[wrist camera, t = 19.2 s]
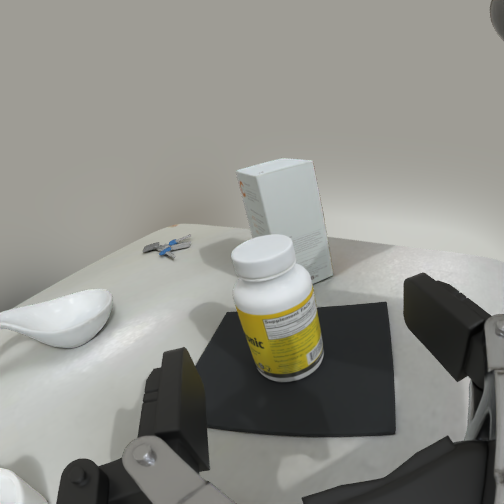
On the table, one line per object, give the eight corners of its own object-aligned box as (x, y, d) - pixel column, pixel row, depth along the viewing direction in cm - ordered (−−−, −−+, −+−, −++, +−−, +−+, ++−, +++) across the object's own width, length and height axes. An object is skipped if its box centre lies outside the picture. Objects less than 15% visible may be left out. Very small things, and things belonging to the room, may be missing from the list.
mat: (386, 305, 27) (386, 301, 27) (395, 434, 15) (395, 431, 15) (227, 315, 33) (226, 311, 33) (167, 420, 21) (165, 417, 21)
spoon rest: (115, 299, 43) (95, 255, 40) (130, 334, 33) (104, 279, 31) (-9, 360, 33) (-33, 320, 30) (-21, 406, 23) (-54, 360, 21)
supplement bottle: (252, 349, 26) (218, 243, 23) (312, 330, 26) (291, 223, 23) (262, 393, 21) (222, 275, 18) (334, 371, 21) (316, 248, 18)
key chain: (138, 252, 61) (136, 248, 61) (170, 235, 66) (168, 232, 66) (174, 260, 51) (172, 256, 51) (210, 240, 56) (209, 235, 56)
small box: (335, 276, 35) (314, 159, 30) (283, 297, 33) (254, 175, 29) (304, 253, 42) (283, 156, 37) (259, 270, 41) (233, 170, 36)
